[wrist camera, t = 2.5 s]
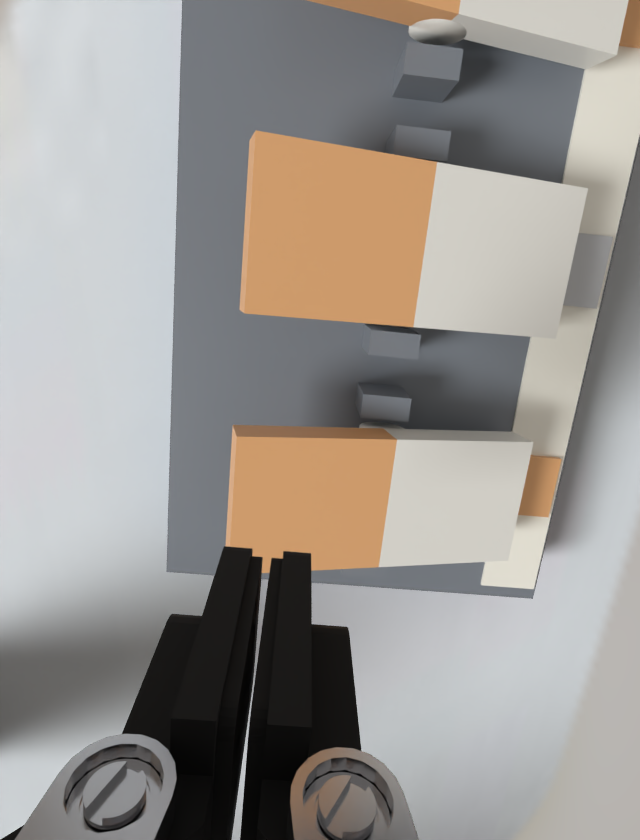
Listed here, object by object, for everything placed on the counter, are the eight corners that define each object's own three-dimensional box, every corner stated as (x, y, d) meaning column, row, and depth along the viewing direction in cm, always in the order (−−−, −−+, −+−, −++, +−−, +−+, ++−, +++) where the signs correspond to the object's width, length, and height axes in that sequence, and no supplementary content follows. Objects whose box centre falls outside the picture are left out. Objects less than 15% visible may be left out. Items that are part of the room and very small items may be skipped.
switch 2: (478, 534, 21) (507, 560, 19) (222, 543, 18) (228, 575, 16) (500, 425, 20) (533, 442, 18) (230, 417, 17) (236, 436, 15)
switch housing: (506, 560, 25) (554, 629, 20) (183, 536, 24) (152, 601, 19) (651, -119, 18) (778, -264, 13) (209, -185, 17) (171, -363, 12)
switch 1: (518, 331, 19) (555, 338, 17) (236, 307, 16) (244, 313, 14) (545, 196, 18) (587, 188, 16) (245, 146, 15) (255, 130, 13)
